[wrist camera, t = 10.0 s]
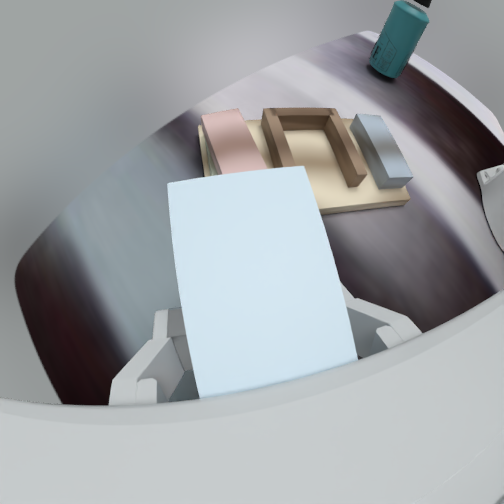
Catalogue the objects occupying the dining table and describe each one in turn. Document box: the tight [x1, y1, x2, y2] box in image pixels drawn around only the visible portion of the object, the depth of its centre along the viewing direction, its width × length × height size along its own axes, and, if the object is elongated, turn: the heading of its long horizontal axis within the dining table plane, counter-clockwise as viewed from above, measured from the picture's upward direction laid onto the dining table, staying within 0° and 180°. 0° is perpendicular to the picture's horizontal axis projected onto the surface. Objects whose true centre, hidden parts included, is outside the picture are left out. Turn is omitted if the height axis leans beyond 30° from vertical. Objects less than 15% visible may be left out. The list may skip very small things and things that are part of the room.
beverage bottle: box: [369, 0, 431, 78], centre depth 29 cm, size 6×7×20 cm
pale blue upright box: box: [167, 166, 358, 399], centre depth 12 cm, size 6×4×11 cm, turn 12°
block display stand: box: [198, 108, 413, 215], centre depth 26 cm, size 12×22×6 cm, turn 102°
